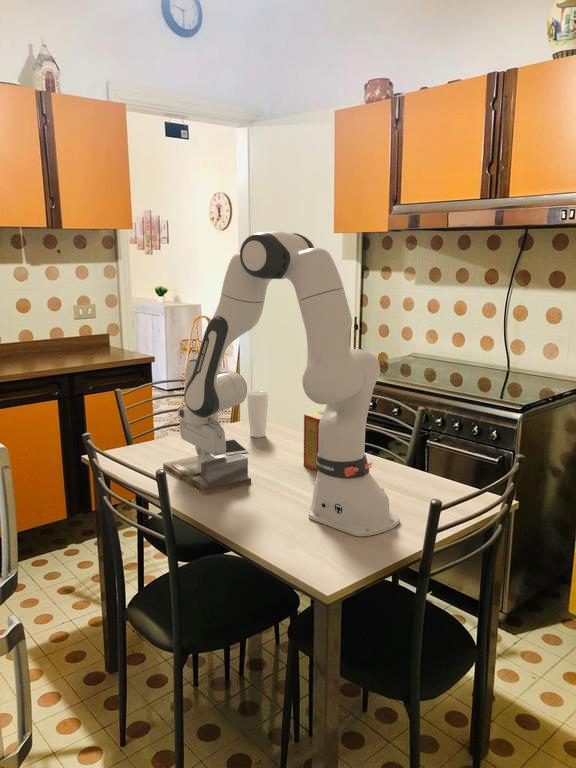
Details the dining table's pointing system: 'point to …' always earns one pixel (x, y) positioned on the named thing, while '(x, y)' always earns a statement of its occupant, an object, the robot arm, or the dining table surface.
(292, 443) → the dining table surface
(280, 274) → the robot arm
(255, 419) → the white travel tumbler
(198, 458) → the white rectangular block
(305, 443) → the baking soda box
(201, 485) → the grey stepped block
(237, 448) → the smartphone
